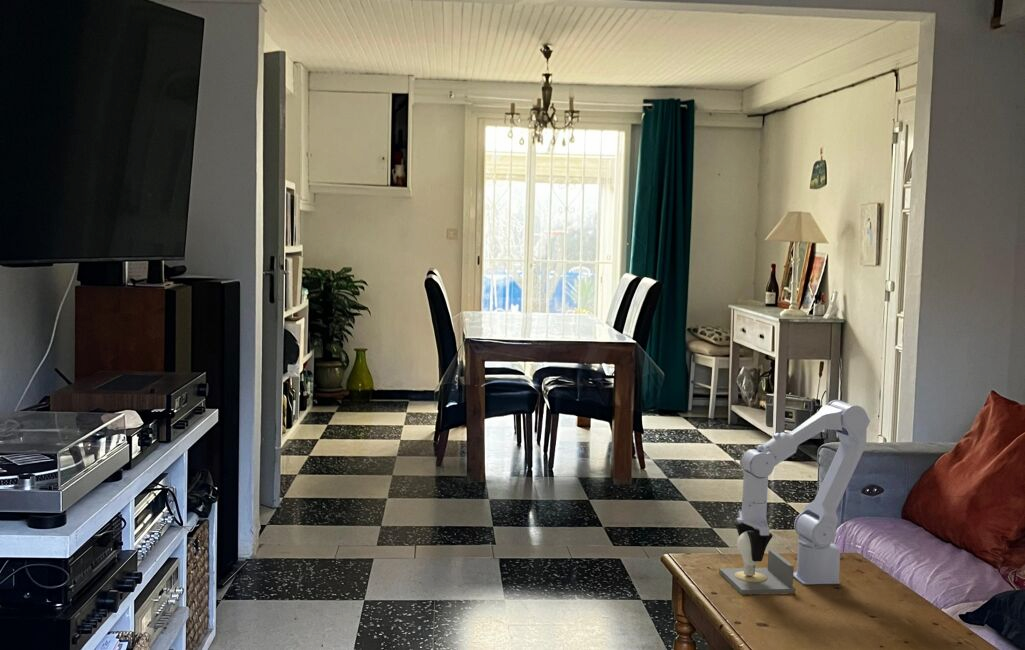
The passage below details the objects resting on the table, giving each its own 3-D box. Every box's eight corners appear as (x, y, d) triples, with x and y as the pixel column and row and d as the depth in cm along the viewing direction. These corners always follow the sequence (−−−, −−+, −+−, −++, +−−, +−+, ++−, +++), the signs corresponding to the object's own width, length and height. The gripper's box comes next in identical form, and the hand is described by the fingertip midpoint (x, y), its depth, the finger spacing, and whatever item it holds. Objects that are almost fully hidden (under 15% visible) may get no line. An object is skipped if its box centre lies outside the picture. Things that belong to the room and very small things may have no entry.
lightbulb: (763, 581, 231) (765, 535, 230) (735, 579, 232) (738, 533, 232) (762, 573, 237) (764, 528, 237) (735, 571, 238) (737, 526, 238)
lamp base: (770, 572, 243) (771, 547, 242) (795, 593, 228) (797, 567, 227) (719, 573, 241) (720, 548, 240) (741, 594, 226) (742, 568, 225)
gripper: (727, 493, 240) (724, 547, 241) (750, 508, 226) (746, 566, 227) (755, 493, 241) (752, 547, 242) (779, 508, 227) (775, 566, 228)
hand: (751, 556), depth 235 cm, fingers closed on lightbulb, 6 cm apart
